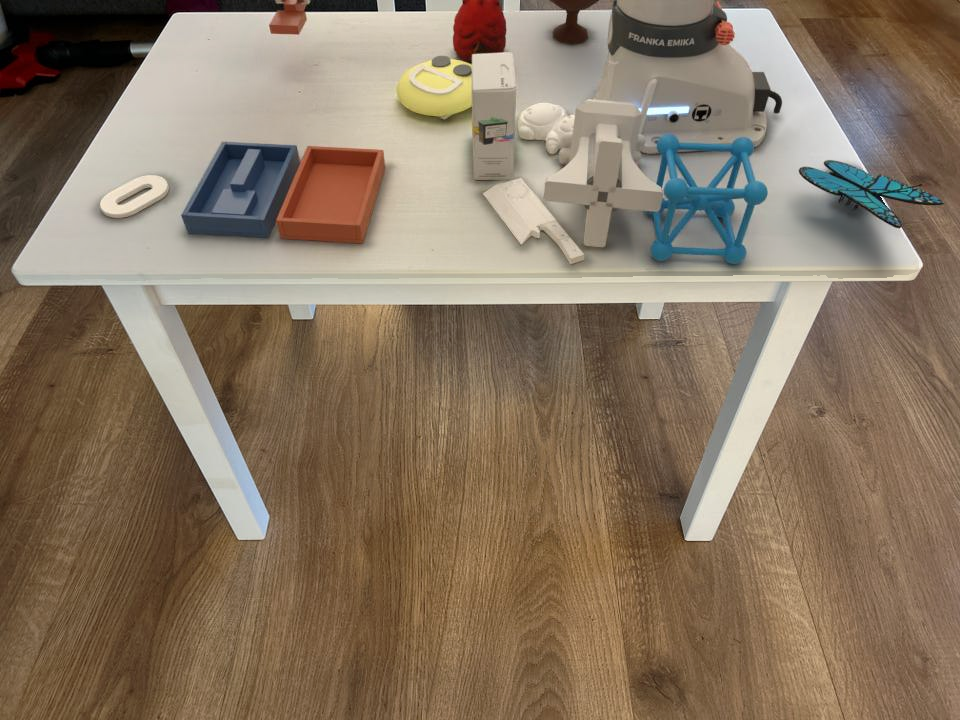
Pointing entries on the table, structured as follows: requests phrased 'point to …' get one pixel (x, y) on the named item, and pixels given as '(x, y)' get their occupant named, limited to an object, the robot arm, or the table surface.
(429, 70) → the emoji
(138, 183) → the chain link
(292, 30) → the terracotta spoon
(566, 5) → the ice cream bowl
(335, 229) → the terracotta tray
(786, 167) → the table surface
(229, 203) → the paddle
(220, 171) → the blue tray
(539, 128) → the astronaut figurine
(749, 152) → the molecular structure
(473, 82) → the ink box
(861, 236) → the table surface
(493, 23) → the red clay folk toy
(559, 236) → the cleaver
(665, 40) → the robot arm
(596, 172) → the toy gun turret
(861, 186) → the butterfly
